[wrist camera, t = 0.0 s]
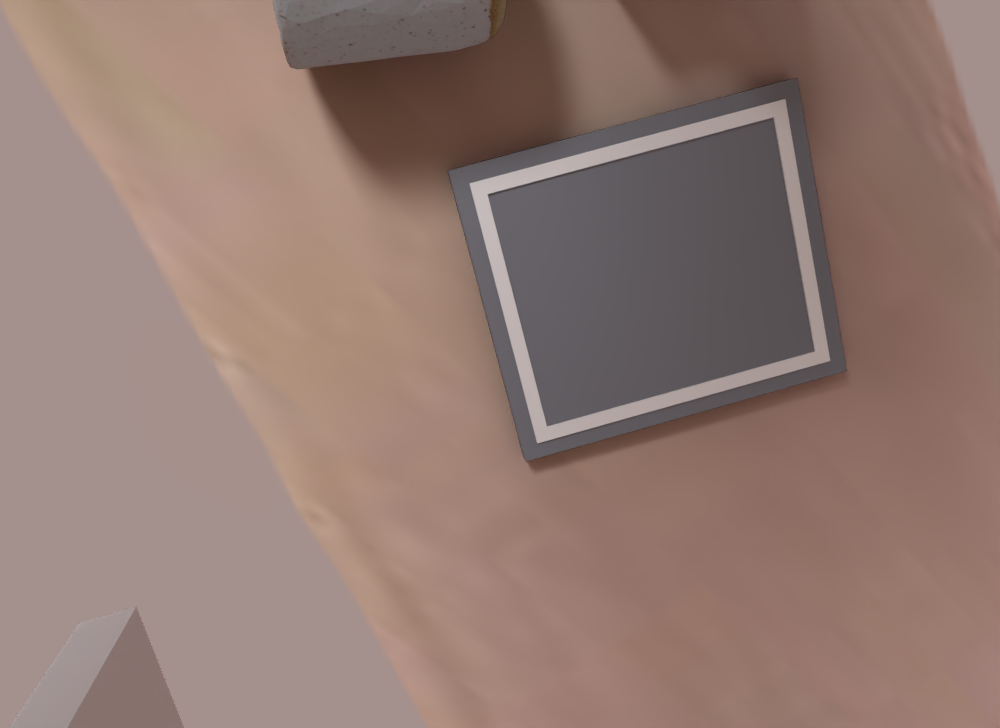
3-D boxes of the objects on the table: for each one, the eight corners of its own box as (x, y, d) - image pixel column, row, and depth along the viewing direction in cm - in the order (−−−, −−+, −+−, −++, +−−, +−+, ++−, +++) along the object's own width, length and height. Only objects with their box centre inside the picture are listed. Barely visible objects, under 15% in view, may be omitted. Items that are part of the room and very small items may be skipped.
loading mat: (447, 170, 39) (448, 171, 38) (789, 79, 39) (798, 77, 38) (523, 455, 42) (525, 462, 41) (838, 366, 42) (847, 371, 42)
